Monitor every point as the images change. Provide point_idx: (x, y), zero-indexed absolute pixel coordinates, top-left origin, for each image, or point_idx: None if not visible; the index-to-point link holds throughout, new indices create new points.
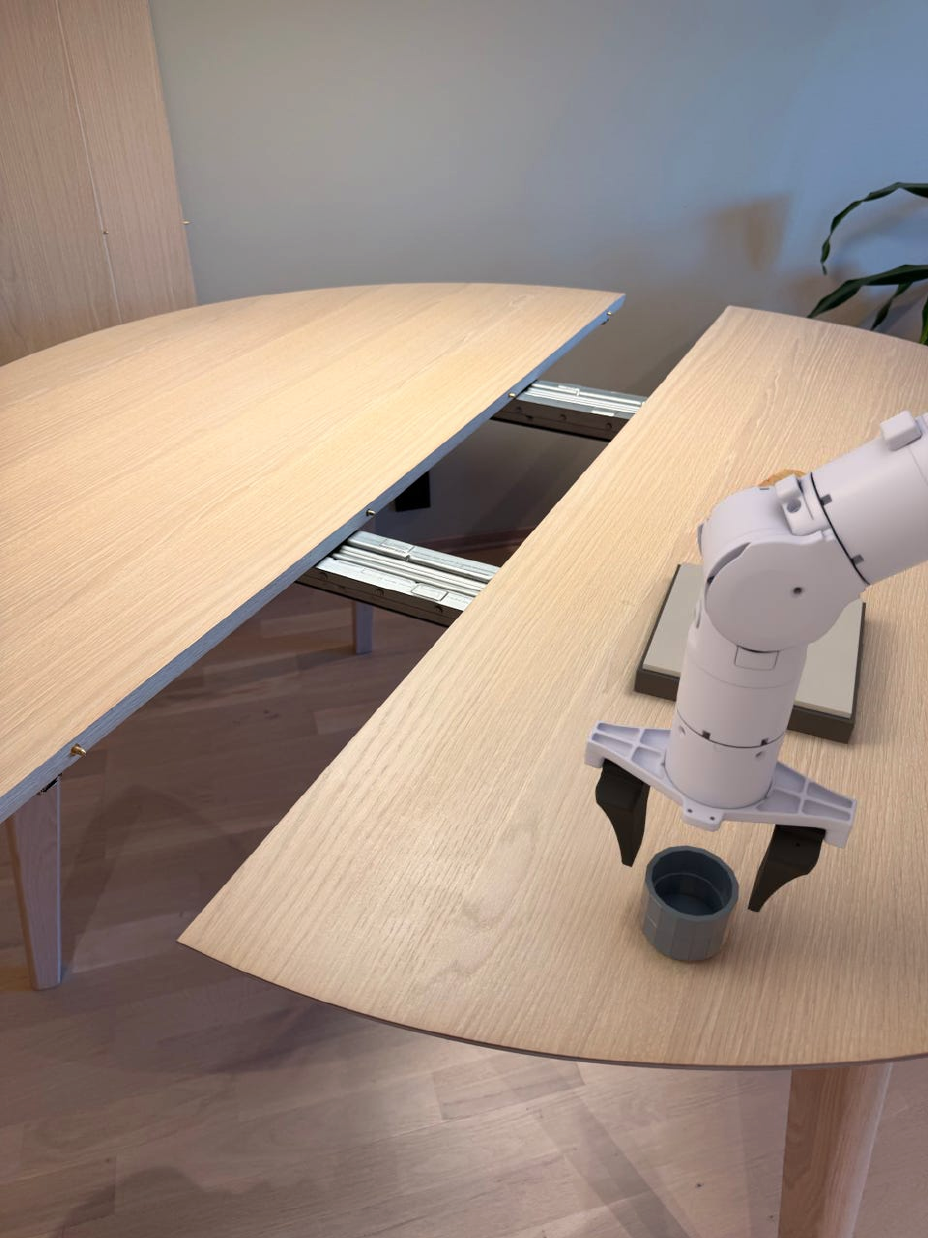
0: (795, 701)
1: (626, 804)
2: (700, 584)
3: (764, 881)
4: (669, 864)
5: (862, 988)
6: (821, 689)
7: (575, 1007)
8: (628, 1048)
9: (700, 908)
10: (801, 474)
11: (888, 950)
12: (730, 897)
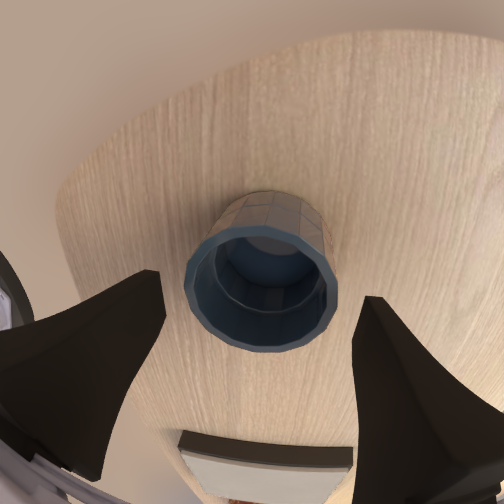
0: (221, 461)
1: (469, 477)
2: (307, 501)
3: (86, 317)
4: (301, 319)
5: (90, 233)
6: (206, 466)
7: (379, 83)
8: (297, 49)
9: (253, 273)
10: None
11: (88, 277)
12: (200, 289)
